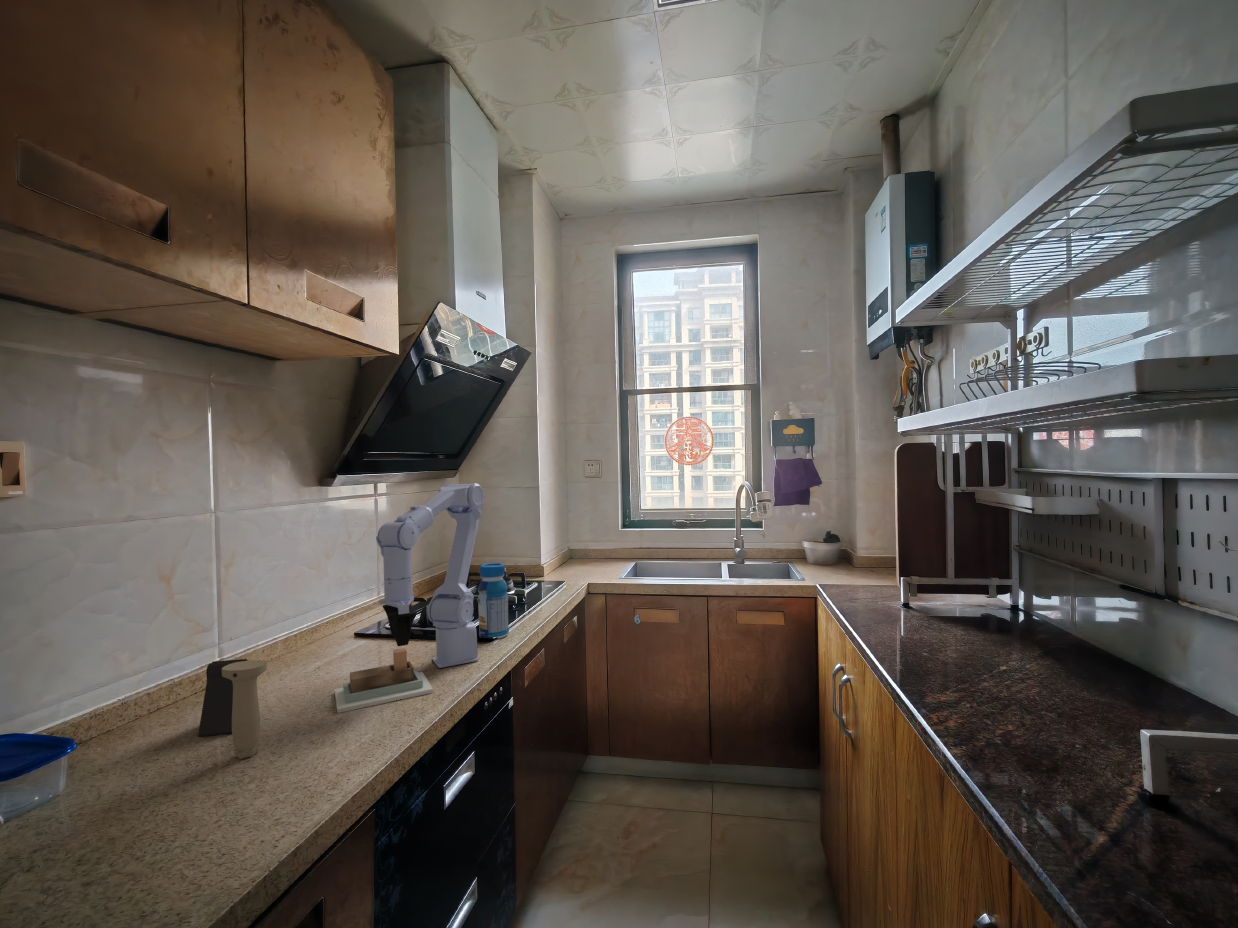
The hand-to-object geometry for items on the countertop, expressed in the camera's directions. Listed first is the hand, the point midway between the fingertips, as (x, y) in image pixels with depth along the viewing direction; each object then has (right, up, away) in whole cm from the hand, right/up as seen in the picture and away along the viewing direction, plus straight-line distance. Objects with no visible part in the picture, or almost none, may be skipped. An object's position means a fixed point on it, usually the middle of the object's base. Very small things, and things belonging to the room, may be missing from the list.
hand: (400, 640), depth 121 cm
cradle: (-3, -11, -2) cm, 11 cm away
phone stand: (-26, -11, -15) cm, 32 cm away
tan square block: (0, -9, 0) cm, 9 cm away
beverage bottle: (+12, -11, +37) cm, 41 cm away
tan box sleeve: (-3, -10, -2) cm, 10 cm away
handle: (-15, -11, -27) cm, 33 cm away
